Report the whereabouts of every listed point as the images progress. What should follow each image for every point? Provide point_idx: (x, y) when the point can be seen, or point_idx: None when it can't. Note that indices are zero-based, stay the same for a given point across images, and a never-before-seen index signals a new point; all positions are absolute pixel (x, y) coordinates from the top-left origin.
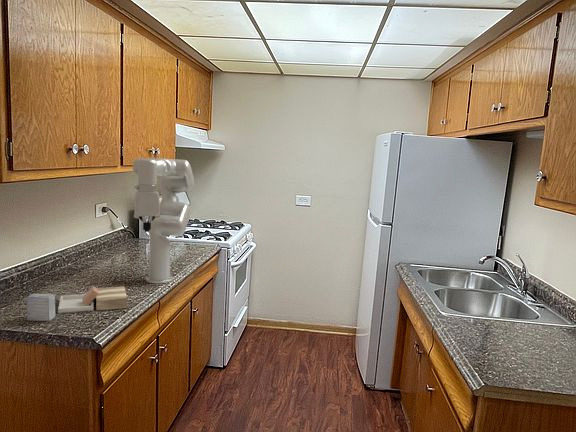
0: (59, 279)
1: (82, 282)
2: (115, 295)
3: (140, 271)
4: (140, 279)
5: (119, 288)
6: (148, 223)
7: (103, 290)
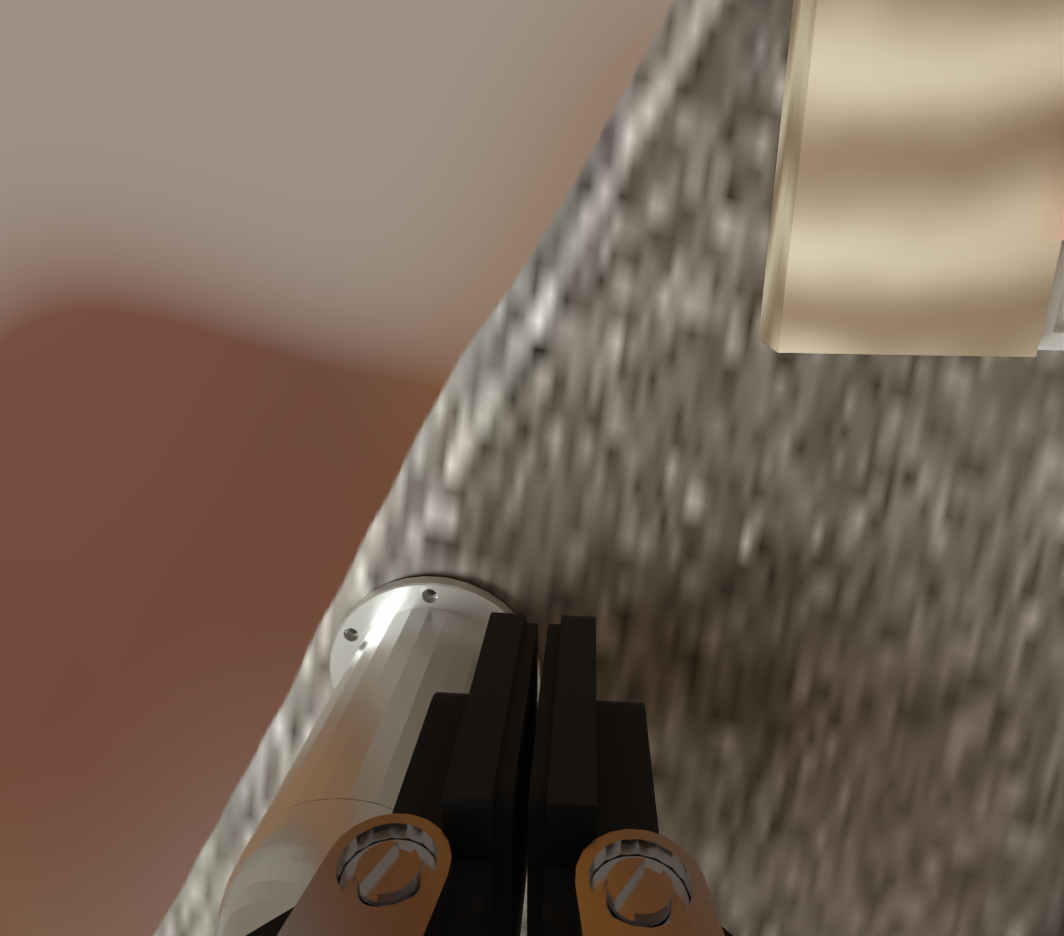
0: None
1: (1003, 760)
2: (916, 59)
3: None
4: None
5: (833, 298)
6: (476, 780)
7: (988, 267)
